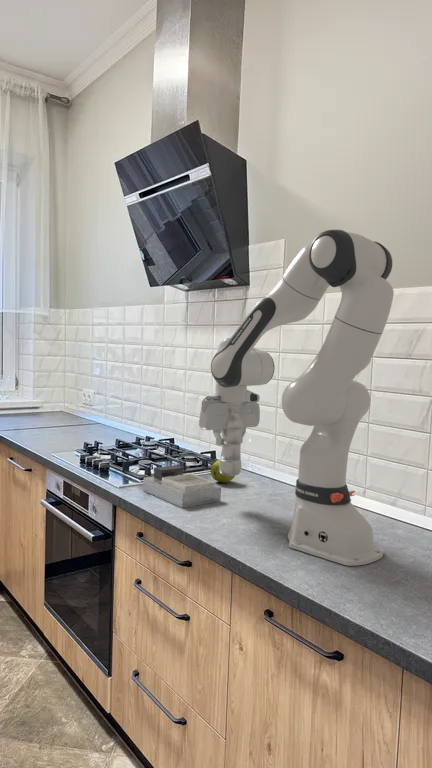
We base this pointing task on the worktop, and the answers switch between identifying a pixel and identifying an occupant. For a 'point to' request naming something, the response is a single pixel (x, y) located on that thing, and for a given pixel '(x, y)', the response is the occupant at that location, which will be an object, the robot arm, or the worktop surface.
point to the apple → (217, 474)
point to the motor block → (181, 487)
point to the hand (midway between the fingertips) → (229, 444)
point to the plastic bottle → (232, 444)
